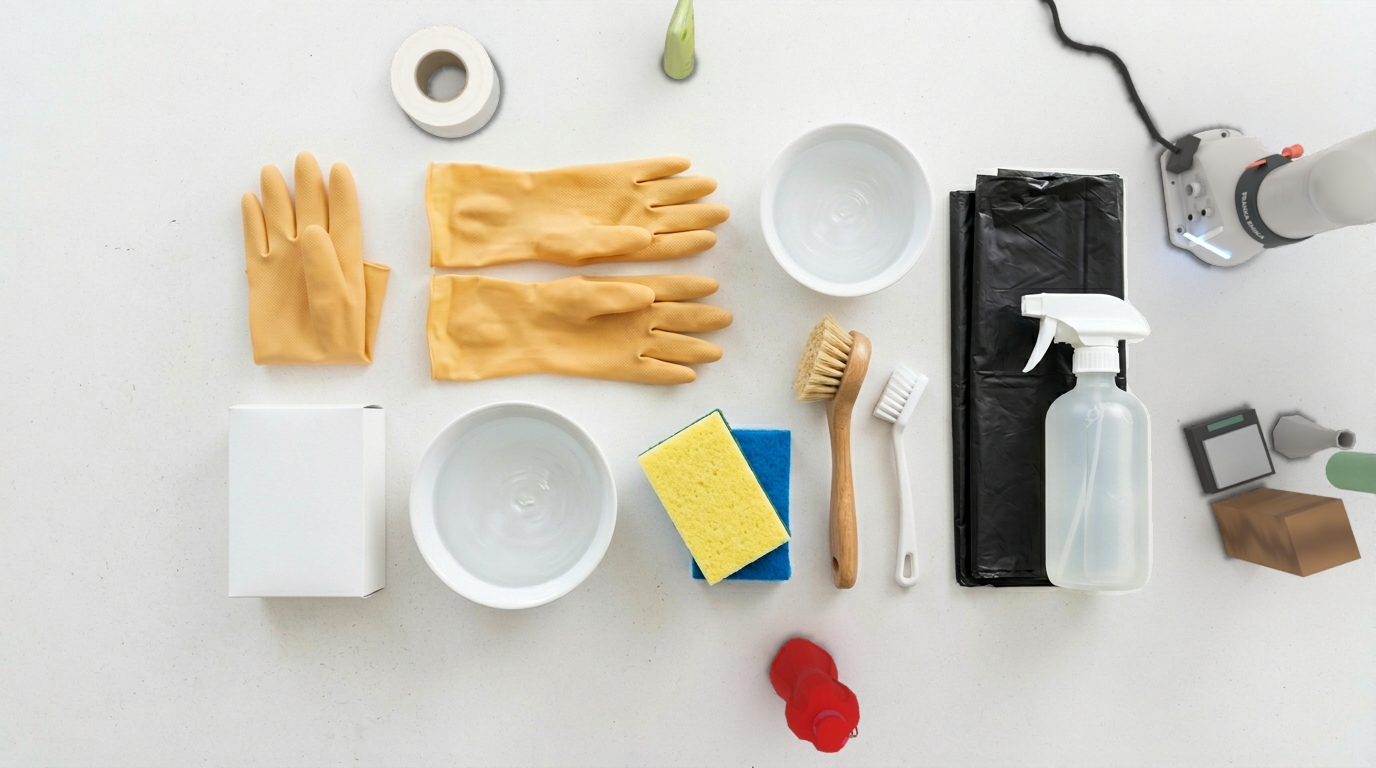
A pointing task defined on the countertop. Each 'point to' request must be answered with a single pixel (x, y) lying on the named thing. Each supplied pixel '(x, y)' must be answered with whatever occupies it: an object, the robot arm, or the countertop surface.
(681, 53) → the tube
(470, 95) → the tape roll
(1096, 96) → the countertop surface
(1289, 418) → the flask
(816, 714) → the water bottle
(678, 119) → the countertop surface
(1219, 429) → the scale
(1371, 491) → the green bottle
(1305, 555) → the brown wooden block
